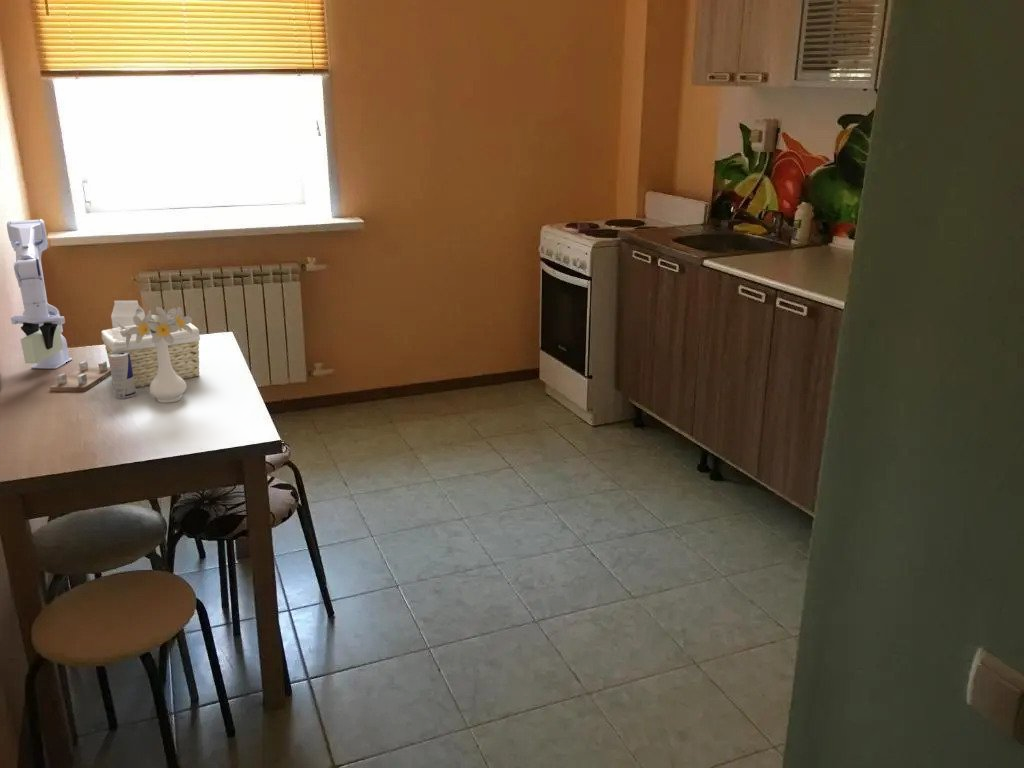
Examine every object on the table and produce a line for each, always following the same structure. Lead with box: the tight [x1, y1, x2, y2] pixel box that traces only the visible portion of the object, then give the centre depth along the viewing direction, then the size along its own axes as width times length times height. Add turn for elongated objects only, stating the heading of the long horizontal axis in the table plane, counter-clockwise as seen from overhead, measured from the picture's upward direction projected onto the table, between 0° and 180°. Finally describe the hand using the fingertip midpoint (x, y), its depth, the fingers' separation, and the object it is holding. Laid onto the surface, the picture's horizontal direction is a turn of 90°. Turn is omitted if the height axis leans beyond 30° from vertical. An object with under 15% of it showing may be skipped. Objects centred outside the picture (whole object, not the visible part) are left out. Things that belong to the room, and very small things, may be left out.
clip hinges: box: [56, 360, 108, 385], centre depth 247 cm, size 14×7×2 cm, turn 177°
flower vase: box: [117, 306, 193, 404], centre depth 228 cm, size 13×18×25 cm
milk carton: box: [110, 300, 146, 329], centre depth 262 cm, size 7×7×19 cm
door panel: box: [20, 326, 63, 364], centre depth 245 cm, size 14×3×7 cm, turn 177°
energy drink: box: [108, 351, 137, 400], centre depth 233 cm, size 5×5×12 cm
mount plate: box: [49, 366, 111, 392], centre depth 247 cm, size 18×10×1 cm, turn 177°
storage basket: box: [101, 322, 201, 388], centre depth 248 cm, size 24×16×15 cm
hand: (43, 348), depth 246 cm, fingers closed on door panel, 3 cm apart
